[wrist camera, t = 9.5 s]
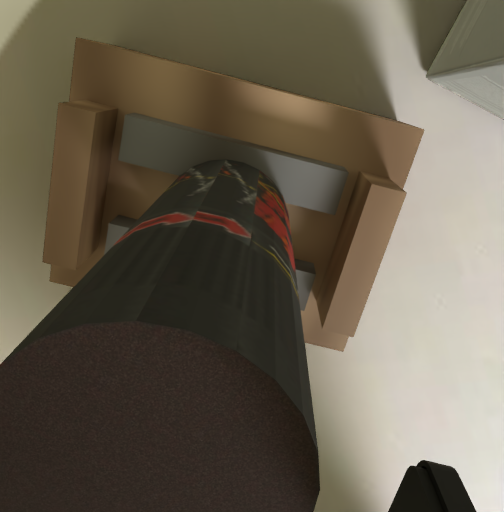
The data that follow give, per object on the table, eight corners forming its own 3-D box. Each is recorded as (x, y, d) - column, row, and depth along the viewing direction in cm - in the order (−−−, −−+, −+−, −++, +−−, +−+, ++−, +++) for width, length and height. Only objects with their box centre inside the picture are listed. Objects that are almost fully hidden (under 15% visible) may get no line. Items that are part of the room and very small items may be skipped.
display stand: (397, 120, 26) (447, 137, 19) (332, 309, 31) (351, 384, 23) (111, 44, 26) (45, 30, 18) (84, 249, 30) (21, 306, 22)
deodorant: (159, 155, 21) (-65, 308, 7) (294, 163, 21) (339, 333, 7) (161, 279, 23) (-8, 588, 9) (284, 286, 23) (304, 611, 9)
